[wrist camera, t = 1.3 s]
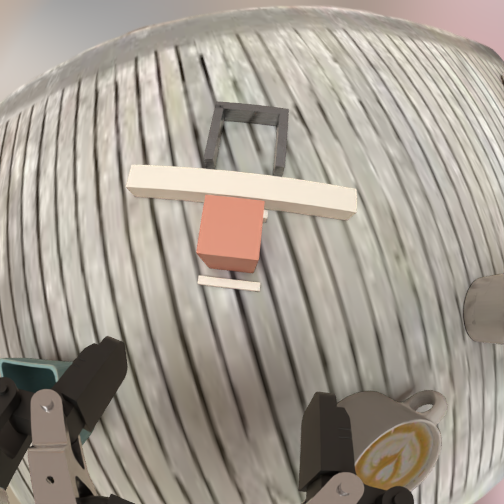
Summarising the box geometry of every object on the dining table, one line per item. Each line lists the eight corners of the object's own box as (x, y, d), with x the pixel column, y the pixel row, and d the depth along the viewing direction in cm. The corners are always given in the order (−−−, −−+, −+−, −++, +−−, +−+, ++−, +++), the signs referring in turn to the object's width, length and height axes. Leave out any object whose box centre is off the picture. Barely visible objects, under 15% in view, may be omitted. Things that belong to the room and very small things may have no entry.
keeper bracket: (285, 121, 33) (288, 109, 30) (281, 177, 31) (284, 167, 29) (217, 113, 33) (216, 101, 30) (206, 168, 31) (203, 158, 29)
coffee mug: (330, 474, 26) (358, 520, 16) (307, 414, 27) (334, 456, 17) (422, 424, 27) (468, 449, 17) (409, 362, 28) (462, 377, 18)
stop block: (257, 230, 30) (264, 200, 21) (253, 273, 30) (258, 260, 21) (215, 225, 30) (205, 194, 21) (209, 268, 29) (196, 252, 21)
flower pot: (43, 349, 27) (-4, 357, 18) (99, 351, 27) (55, 365, 18) (57, 414, 25) (16, 436, 16) (113, 423, 26) (78, 454, 17)
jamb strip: (346, 198, 31) (356, 189, 28) (342, 299, 29) (352, 298, 26) (140, 176, 31) (131, 164, 28) (120, 273, 29) (108, 269, 26)
